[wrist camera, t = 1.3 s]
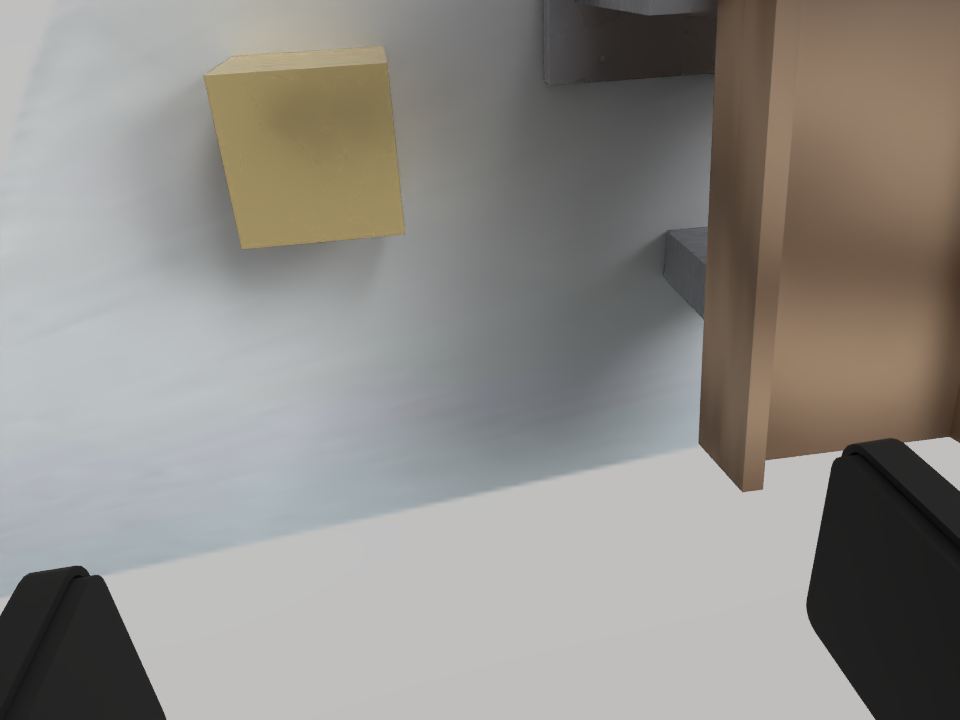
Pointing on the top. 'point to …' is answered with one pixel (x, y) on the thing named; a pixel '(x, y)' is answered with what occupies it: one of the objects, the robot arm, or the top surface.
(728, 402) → the beam
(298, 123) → the block
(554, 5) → the pivot stand
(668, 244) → the block
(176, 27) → the top surface
